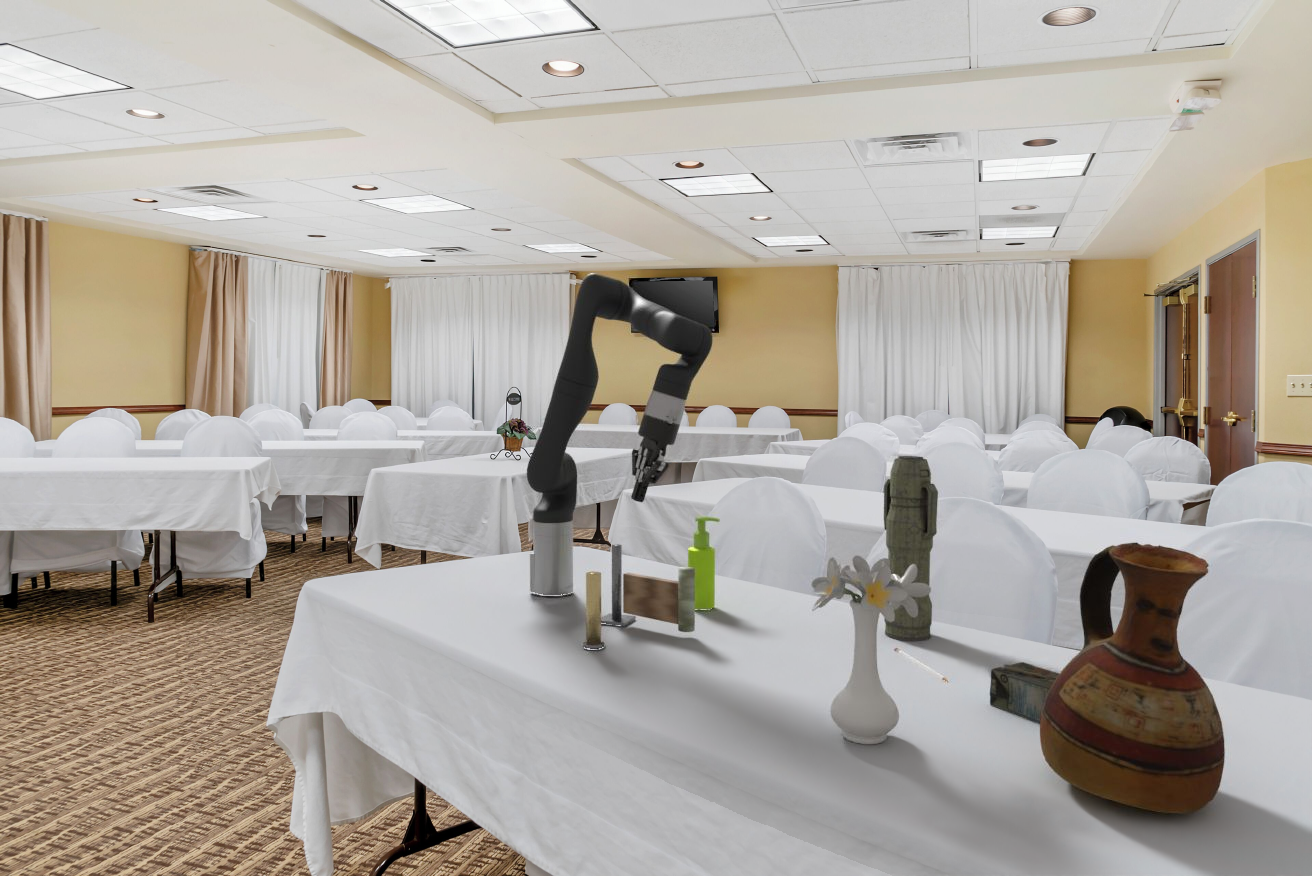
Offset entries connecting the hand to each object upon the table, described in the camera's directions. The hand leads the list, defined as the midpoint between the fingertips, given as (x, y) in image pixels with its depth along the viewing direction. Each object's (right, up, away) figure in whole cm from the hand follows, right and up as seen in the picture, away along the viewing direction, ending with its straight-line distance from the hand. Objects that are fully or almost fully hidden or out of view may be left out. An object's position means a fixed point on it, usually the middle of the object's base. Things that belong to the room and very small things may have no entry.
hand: (636, 500), depth 177 cm
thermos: (+53, -26, -2) cm, 59 cm away
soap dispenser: (+14, -25, +19) cm, 34 cm away
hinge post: (-4, -26, +7) cm, 27 cm away
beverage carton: (+63, -29, -47) cm, 84 cm away
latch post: (-8, -27, -11) cm, 30 cm away
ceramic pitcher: (+61, -30, -69) cm, 97 cm away
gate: (+4, -24, 0) cm, 25 cm away
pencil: (+50, -28, -21) cm, 61 cm away
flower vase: (+33, -29, -52) cm, 68 cm away
